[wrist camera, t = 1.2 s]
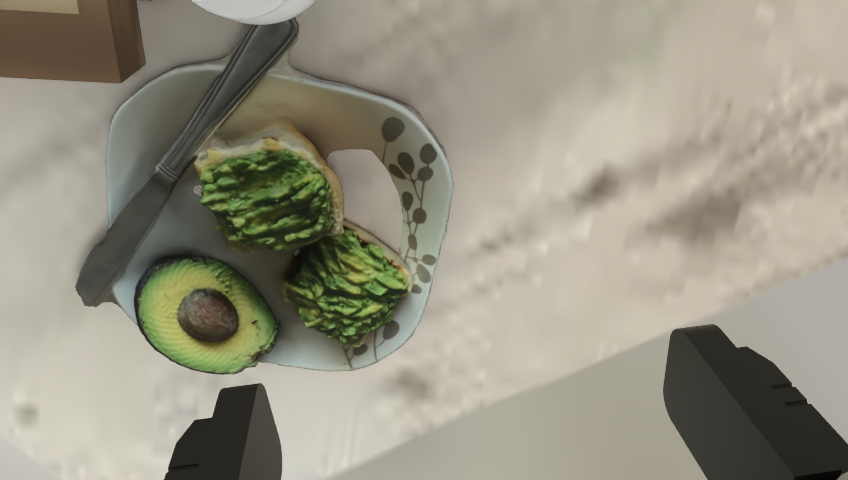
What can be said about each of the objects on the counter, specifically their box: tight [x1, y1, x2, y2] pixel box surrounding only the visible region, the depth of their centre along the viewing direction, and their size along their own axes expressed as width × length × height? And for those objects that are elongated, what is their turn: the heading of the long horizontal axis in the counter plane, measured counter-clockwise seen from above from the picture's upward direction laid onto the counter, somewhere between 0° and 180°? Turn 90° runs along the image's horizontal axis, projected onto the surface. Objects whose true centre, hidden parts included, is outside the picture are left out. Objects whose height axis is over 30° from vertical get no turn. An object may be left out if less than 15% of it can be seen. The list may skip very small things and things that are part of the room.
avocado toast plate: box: [75, 17, 454, 375], centre depth 29 cm, size 19×18×5 cm
